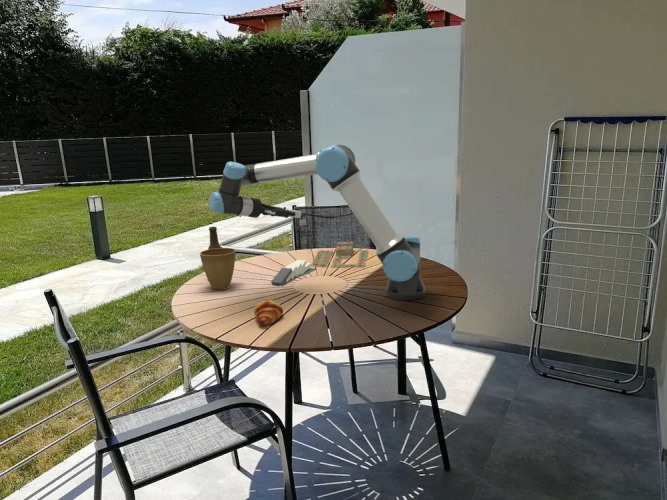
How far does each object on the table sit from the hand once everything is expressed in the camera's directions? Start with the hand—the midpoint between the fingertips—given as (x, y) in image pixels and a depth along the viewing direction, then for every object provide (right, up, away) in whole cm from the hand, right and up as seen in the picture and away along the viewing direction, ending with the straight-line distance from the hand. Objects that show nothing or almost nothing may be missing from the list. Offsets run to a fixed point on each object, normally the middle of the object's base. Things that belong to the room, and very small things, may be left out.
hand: (300, 214), depth 214 cm
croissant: (-9, -39, -30) cm, 50 cm away
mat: (0, -24, +28) cm, 37 cm away
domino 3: (-7, -27, +15) cm, 32 cm away
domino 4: (-5, -26, +18) cm, 32 cm away
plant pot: (-34, -31, +9) cm, 47 cm away
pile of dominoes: (+17, -20, +47) cm, 54 cm away
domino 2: (-9, -28, +11) cm, 31 cm away
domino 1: (-11, -29, +7) cm, 32 cm away
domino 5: (-3, -25, +22) cm, 33 cm away
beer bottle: (-39, -28, +22) cm, 53 cm away
